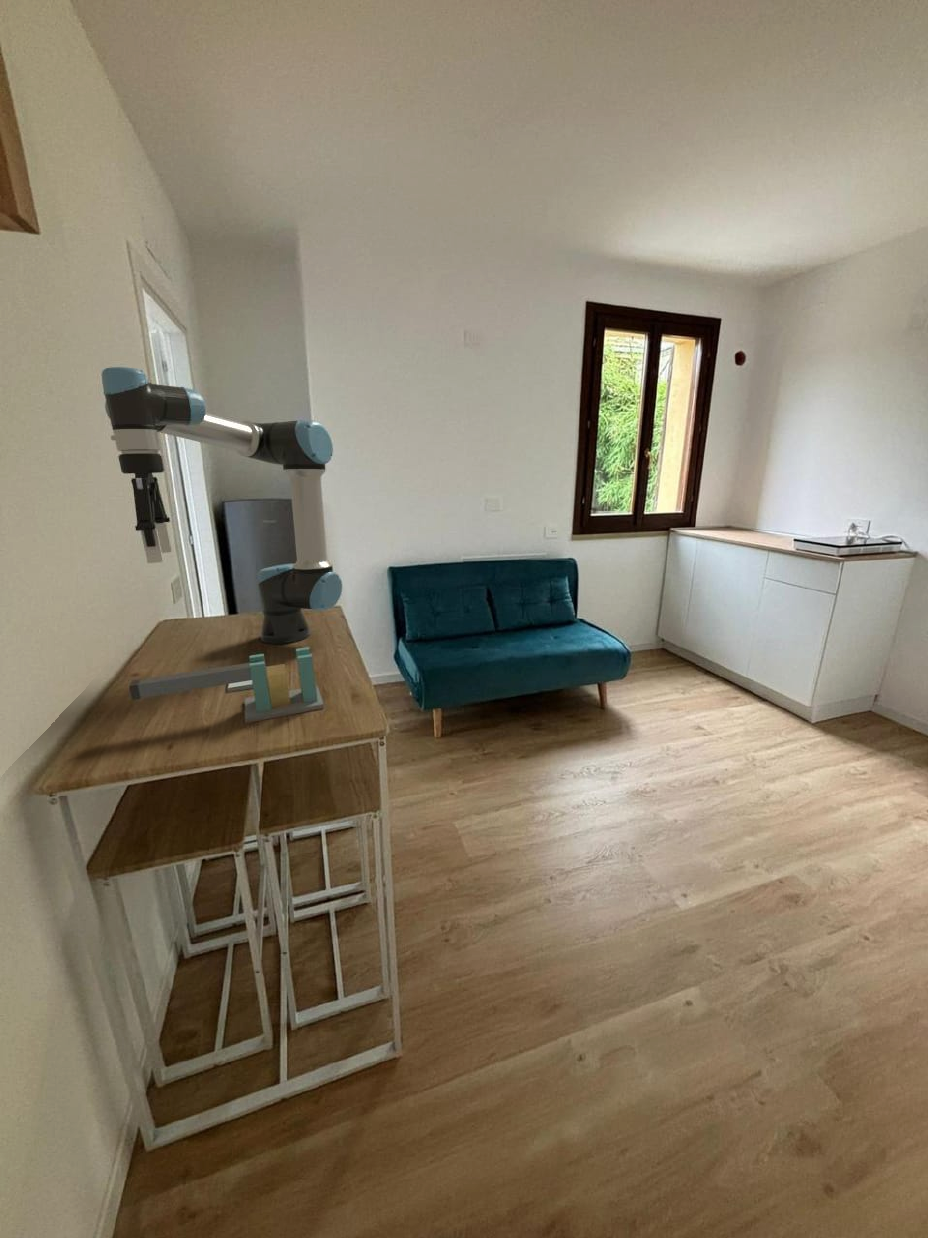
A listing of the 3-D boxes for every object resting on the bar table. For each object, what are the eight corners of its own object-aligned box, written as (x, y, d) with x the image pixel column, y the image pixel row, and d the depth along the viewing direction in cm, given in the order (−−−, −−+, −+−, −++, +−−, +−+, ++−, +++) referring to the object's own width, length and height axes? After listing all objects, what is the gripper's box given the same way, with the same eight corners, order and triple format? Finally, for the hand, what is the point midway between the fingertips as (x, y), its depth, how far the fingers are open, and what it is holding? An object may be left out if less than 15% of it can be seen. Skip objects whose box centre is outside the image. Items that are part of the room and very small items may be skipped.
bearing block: (245, 702, 120) (237, 654, 116) (317, 689, 126) (312, 643, 122) (245, 723, 110) (236, 671, 107) (323, 708, 116) (318, 658, 112)
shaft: (135, 694, 107) (131, 680, 106) (264, 673, 116) (262, 660, 115) (132, 700, 104) (128, 686, 103) (265, 678, 113) (263, 665, 112)
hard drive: (262, 682, 128) (262, 665, 139) (227, 688, 125) (230, 669, 136) (263, 688, 128) (263, 670, 140) (228, 694, 126) (231, 675, 137)
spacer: (271, 697, 120) (266, 666, 117) (288, 694, 121) (284, 663, 119) (271, 708, 114) (266, 676, 112) (290, 705, 116) (286, 673, 113)
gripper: (130, 454, 113) (150, 550, 119) (102, 451, 91) (128, 569, 97) (169, 453, 116) (186, 547, 122) (150, 450, 93) (172, 565, 100)
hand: (160, 557), depth 109 cm, fingers open, 13 cm apart
